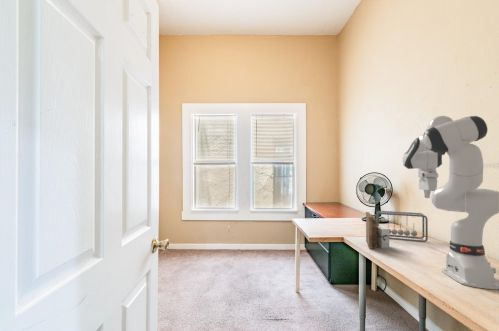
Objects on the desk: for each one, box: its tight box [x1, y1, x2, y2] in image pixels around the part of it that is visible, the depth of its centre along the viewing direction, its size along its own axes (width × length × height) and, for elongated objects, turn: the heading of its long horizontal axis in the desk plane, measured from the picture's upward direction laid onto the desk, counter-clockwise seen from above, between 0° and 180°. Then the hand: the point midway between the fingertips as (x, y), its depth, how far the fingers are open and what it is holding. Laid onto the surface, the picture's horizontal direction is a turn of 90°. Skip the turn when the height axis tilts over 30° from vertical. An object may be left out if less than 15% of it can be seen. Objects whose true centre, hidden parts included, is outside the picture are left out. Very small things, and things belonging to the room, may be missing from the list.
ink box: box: [377, 225, 390, 249], centre depth 165 cm, size 9×5×12 cm, turn 177°
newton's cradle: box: [375, 210, 429, 243], centre depth 185 cm, size 30×10×18 cm, turn 68°
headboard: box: [365, 211, 378, 250], centre depth 168 cm, size 20×5×19 cm, turn 161°
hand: (427, 197), depth 155 cm, fingers closed
